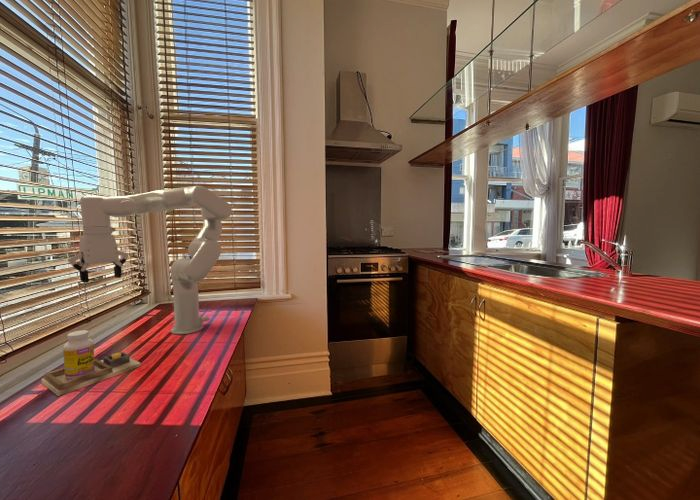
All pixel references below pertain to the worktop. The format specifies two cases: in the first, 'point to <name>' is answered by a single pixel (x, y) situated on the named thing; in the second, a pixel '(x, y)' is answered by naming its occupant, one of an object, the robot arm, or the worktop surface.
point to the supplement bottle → (78, 355)
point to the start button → (116, 355)
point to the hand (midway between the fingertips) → (102, 279)
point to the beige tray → (101, 372)
